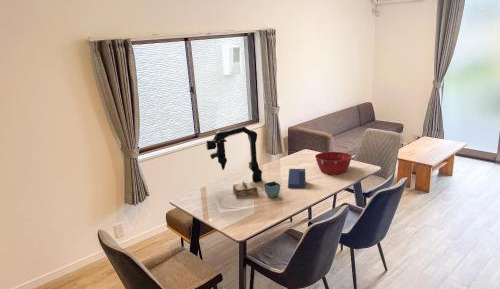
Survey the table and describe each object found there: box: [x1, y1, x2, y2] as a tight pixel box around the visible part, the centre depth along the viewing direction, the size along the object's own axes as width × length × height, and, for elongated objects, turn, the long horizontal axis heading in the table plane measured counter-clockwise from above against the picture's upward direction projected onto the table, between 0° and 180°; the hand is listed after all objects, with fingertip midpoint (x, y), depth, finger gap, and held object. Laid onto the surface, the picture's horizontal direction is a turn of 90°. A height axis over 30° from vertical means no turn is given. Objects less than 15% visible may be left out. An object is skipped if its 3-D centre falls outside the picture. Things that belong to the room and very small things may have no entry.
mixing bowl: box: [314, 151, 353, 176], centre depth 291 cm, size 28×28×15 cm
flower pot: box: [263, 181, 281, 198], centre depth 253 cm, size 9×9×9 cm
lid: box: [232, 181, 258, 191], centre depth 261 cm, size 14×13×3 cm
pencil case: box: [232, 185, 258, 199], centre depth 262 cm, size 15×13×4 cm
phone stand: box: [287, 168, 307, 189], centre depth 269 cm, size 12×12×12 cm
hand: (222, 168), depth 273 cm, fingers open, 9 cm apart
